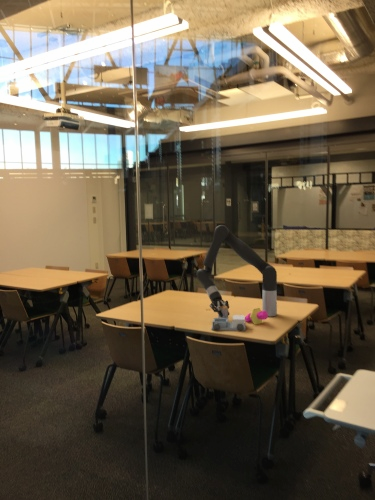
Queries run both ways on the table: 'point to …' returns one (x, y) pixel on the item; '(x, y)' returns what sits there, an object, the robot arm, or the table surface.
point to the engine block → (223, 311)
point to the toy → (256, 316)
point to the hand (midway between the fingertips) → (225, 315)
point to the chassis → (229, 323)
